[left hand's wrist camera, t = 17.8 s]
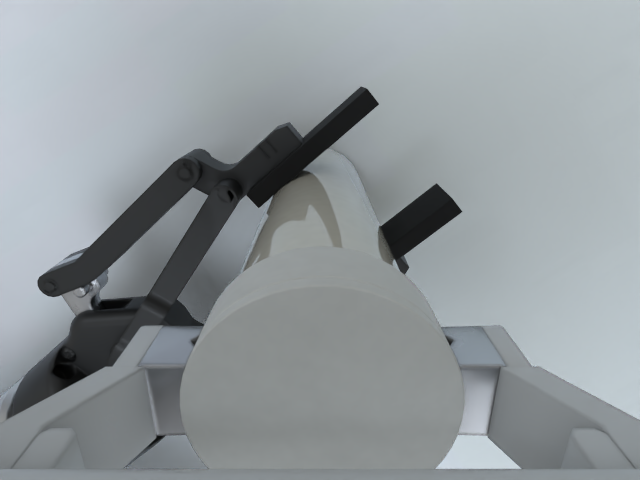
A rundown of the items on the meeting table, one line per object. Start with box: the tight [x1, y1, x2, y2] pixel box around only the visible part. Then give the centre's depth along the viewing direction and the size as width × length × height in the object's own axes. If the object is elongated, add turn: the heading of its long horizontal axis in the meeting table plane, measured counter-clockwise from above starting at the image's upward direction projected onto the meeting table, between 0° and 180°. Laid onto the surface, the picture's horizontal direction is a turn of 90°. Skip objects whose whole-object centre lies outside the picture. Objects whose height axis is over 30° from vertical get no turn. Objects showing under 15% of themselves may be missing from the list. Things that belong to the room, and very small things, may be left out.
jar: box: [239, 149, 400, 275], centre depth 18 cm, size 5×5×18 cm
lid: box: [180, 246, 465, 469], centre depth 9 cm, size 6×6×2 cm
